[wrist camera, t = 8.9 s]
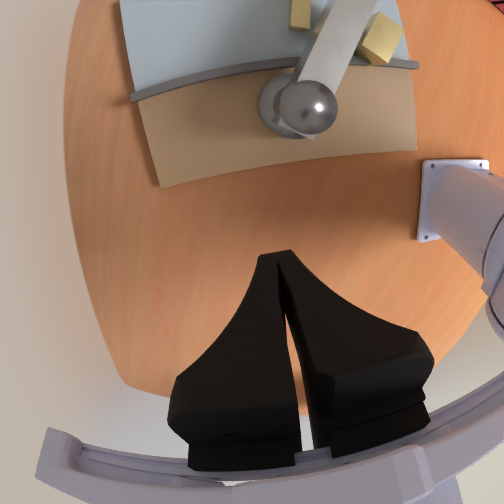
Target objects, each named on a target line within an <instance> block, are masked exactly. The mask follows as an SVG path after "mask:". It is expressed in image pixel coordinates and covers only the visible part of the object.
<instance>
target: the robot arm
mask: <svg viewBox="0 0 504 504" xmlns="http://www.w3.org/2000/svg"><path fill="white" fill-rule="evenodd" d="M431 164H432V167H431ZM479 164H480V165H479ZM488 168H489V162H488V160H486V159H438V160H425V161H424V162H423V164H422V185H421V200H420V212H419V222H418V230H417V241H418V242H420V243H422V242H427V241H431V240H436V239H440V238H442V239H444V240H445V241H446V242H447V243H448V244H449V245H450V246H451V247H452V248H453V249H454V250H455V251H456V252H457V253H458V254H459V255H460V256H461V257H462V258H463V259H464V260H465V261H466V262H467V263H468V264H469V265H470V266H471V267H472V268H473V269H474V270H475V271H476V272H477V273H478V274H479V275H480V276H481V277H482V278H483V279H484V280H483V284H482V286H481V289H482V290H483V291H484V292H485V294H486V295H487V296H488V299H487V301H486V313H487V316H488V319H489V322H490V324H491V326H492V328H493V330H494V331H495V333H496V334H497V335H498V336H499V337H500V339H502V340H503V341H504V178H502V177H501V176H499V175H497V174H495V173H493V172H491V171H489V170H488ZM425 236H426V237H425ZM424 237H425V238H424ZM285 314H286V317H287V321H288V324H289V327H290V331H291V334H292V337H293V341H294V344H295V347H296V351H297V354H298V358H299V362H300V367H301V372H302V378H303V383H304V389H305V395H306V401H307V407H308V413H309V419H310V426H311V432H312V439H313V446H314V450H308V451H303V452H302V442H301V430H300V420H299V411H298V402H297V395H296V389H295V383H294V377H293V372H292V367H291V362H290V356H289V351H288V346H287V334H286V320H285ZM433 366H434V357H433V355H432V354H431V352H430V350H429V348H428V346H427V345H426V343H425V342H424V340H423V339H422V338H421V336H420V335H419V333H418V332H416V331H413V330H410V329H407V328H404V327H401V326H398V325H395V324H392V323H390V322H387V321H385V320H383V319H380V318H378V317H376V316H374V315H372V314H369V313H367V312H366V311H364V310H362V309H360V308H358V307H356V306H355V305H353V304H351V303H350V302H348V301H346V300H345V299H343V298H342V297H341V296H339V295H338V294H336V293H335V292H334V291H332V290H331V289H330V288H329V287H327V286H326V285H325V284H324V283H323V282H321V281H320V280H319V279H318V278H317V277H316V276H315V275H314V274H313V273H312V272H311V271H310V270H309V269H308V268H307V267H306V266H305V265H304V264H303V263H302V262H301V261H300V260H299V258H298V257H297V256H296V255H295V254H294V252H293V251H292V250H285V251H279V252H273V253H268V254H262V255H260V256H259V257H258V260H257V265H256V269H255V272H254V275H253V278H252V280H251V283H250V285H249V288H248V290H247V292H246V294H245V296H244V298H243V300H242V302H241V304H240V306H239V308H238V309H237V311H236V313H235V314H234V316H233V317H232V319H231V321H230V322H229V323H228V325H227V326H226V327H225V329H224V330H223V332H222V333H221V334H220V335H219V337H218V338H217V339H216V340H215V341H214V343H213V344H212V345H211V346H210V347H209V348H208V349H207V350H206V351H205V352H204V353H203V354H202V355H201V356H200V357H199V358H198V359H197V360H196V361H195V362H194V363H193V364H192V365H191V366H189V367H188V368H187V369H186V370H185V371H183V372H182V373H181V374H180V375H178V376H177V377H176V381H175V384H174V387H173V390H172V394H171V397H170V404H169V411H168V418H167V421H168V425H169V426H170V428H171V429H172V430H173V431H174V432H175V433H176V434H178V435H179V436H180V437H181V438H182V439H183V440H185V441H186V442H187V443H188V444H189V452H188V459H183V458H168V457H158V456H149V455H140V454H134V453H128V452H122V451H116V450H111V449H106V448H102V447H97V446H93V445H89V444H85V443H82V442H81V441H80V440H79V439H77V438H76V437H74V436H73V435H71V434H68V433H66V432H63V431H59V430H56V429H53V428H50V427H49V428H47V431H46V435H45V438H44V441H43V445H42V448H41V452H40V456H39V460H38V464H37V468H36V473H35V477H36V478H37V479H38V480H40V481H42V482H44V483H46V484H48V485H50V486H52V487H54V488H56V489H58V490H60V491H62V492H64V493H66V494H68V495H71V496H73V497H75V498H77V499H80V500H82V501H84V502H87V503H89V504H463V502H462V498H461V494H460V490H459V486H458V483H457V480H456V475H457V474H459V473H461V472H462V471H464V470H466V469H467V468H468V467H470V466H472V465H473V464H475V463H476V462H477V461H479V460H480V459H482V458H483V457H485V456H486V455H487V454H489V453H490V452H491V451H493V450H494V449H495V448H497V447H498V446H499V445H500V444H502V443H503V442H504V371H503V372H502V373H500V374H499V375H498V376H496V377H494V378H493V379H491V380H490V381H488V382H487V383H485V384H483V385H482V386H480V387H479V388H477V389H475V390H473V391H472V392H470V393H468V394H466V395H465V396H463V397H461V398H459V399H457V400H455V401H453V402H451V403H450V404H448V405H446V406H444V407H441V408H439V409H437V410H435V411H433V412H431V413H429V414H428V412H427V410H426V407H425V405H424V402H423V401H424V400H425V394H424V392H423V389H422V387H423V385H424V384H425V382H426V380H427V379H428V377H429V375H430V374H431V371H432V369H433ZM402 447H404V448H402ZM400 448H401V449H400ZM397 449H398V450H397ZM394 450H395V451H394ZM263 479H265V480H263ZM248 480H257V481H249V482H244V483H239V484H236V485H235V486H225V485H224V484H223V483H222V482H217V481H248Z"/></svg>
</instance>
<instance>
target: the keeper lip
mask: <svg viewBox="0 0 504 504" xmlns="http://www.w3.org/2000/svg"><path fill="white" fill-rule="evenodd" d="M310 13H311V0H290V1H289V16H288V30H289V31H296V32H302V33H306V32H307V31H308V30H309V29H310Z"/></svg>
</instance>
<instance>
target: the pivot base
mask: <svg viewBox="0 0 504 504" xmlns="http://www.w3.org/2000/svg"><path fill="white" fill-rule="evenodd" d="M291 76H292V73H285V74H282V75H279V76H277V77H275V78H273V79H272V80H270V81H269V82H268V83H267V84H266V85H265V86H264V87H263V88H262V90H261V92H260V94H259V97H258V102H257V107H258V112H259V116H260V118H261V120H262V121H263V123H264V124H265V125H266V126H267V127H268V128H269V129H270V130H271V131H272V132H274V133H275V134H277V135H279V136H281V137H284V138H287V139H295V140H296V139H304V138H307V137H305V136H303V135H300V134H298V133H296V132H294V131H291V130H289V129H287V128H284V127H282V126H280V125H277V124H276V123H274V122H272V121H271V120H272V118H273V115H274V111H273V99H274V97H275V95H276V93H277V92H278V91H279V90H280V89H281V88H283V87H285V86H287V84H288V82H289V80H290V78H291Z"/></svg>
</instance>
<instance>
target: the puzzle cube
mask: <svg viewBox="0 0 504 504" xmlns="http://www.w3.org/2000/svg"><path fill="white" fill-rule="evenodd" d="M490 1H491V2H492V3H493V4H494V5H495V6H497V7H498V8H499V9H500V10H501V11H502V12H503V13H504V0H490Z"/></svg>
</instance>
